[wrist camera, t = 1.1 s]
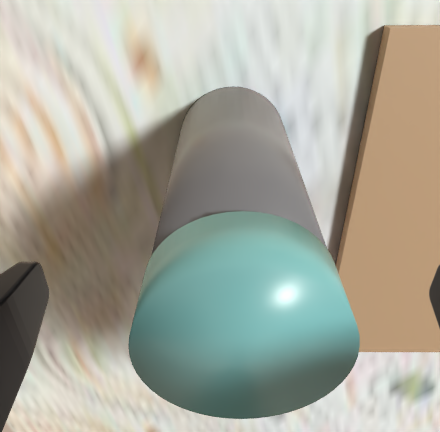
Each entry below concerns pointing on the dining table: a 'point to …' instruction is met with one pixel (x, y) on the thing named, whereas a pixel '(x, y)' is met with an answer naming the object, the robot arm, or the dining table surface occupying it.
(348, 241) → the kraft pad
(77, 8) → the dining table surface
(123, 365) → the dining table surface
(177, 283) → the marker
